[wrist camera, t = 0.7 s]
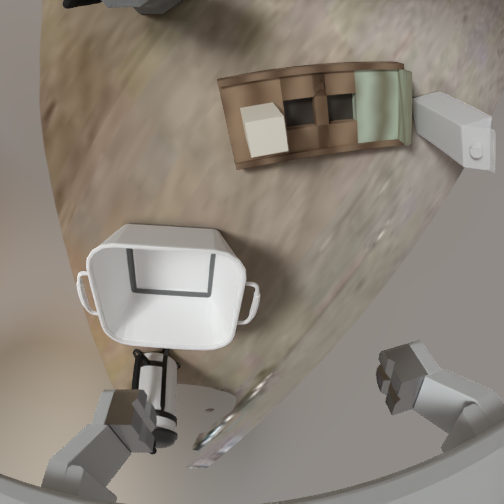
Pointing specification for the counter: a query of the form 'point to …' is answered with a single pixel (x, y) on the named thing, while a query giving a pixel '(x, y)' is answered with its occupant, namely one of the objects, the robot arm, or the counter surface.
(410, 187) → the counter surface
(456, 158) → the milk carton
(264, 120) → the cream block
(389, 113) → the box
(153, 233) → the tub
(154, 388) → the coffee press
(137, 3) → the coffeepot
